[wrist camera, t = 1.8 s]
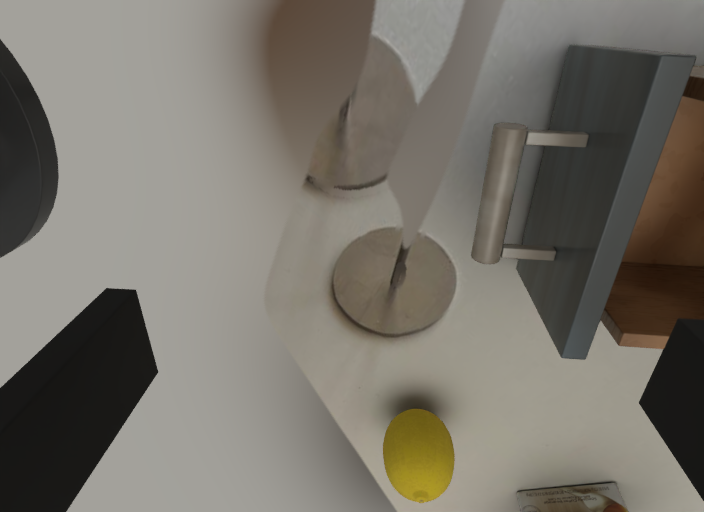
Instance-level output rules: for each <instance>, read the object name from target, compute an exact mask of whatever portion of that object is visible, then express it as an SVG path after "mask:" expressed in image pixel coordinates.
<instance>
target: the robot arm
mask: <svg viewBox="0 0 704 512" xmlns="http://www.w3.org/2000/svg"><path fill="white" fill-rule="evenodd" d="M157 373H158V370H157V366H156V362H155V359H154V355H153V351H152V348H151V344H150V340H149V337H148V333H147V329H146V327H145V322H144V318H143V314H142V311H141V307H140V303H139V300H138V296H137V292H136V290H129V289H109V288H106V289H105V290H104V291H103V292H102V293H101V294H100V295H99V296H98V297H97V298H96V299H95V300H94V301H92V302H91V303H90V304H89V305H88V306H87V307H86V308H85V309H84V310H83V311H82V312H81V313H80V314H79V315H78V316H77V317H75V318H74V320H72V321H71V322H70V323H69V324H68V325H67V326H66V327H65V328H64V329H63V330H62V331H61V332H60V333H58V334H57V335H56V336H55V337H54V338H53V339H52V340H51V341H50V342H49V343H48V344H47V345H46V346H45V347H44V348H43V349H42V350H40V351H39V352H38V353H37V354H36V355H35V356H34V357H33V358H32V359H31V360H30V361H29V362H28V363H27V364H25V365H24V366H23V367H22V368H21V369H20V370H19V371H18V372H17V373H16V374H15V375H14V376H13V377H12V378H11V379H10V380H8V381H7V383H5V384H4V385H3V386H2V387H1V388H0V512H66V511H67V510H68V508H69V507H70V505H71V504H72V502H73V500H74V499H75V497H76V496H77V494H78V493H79V491H80V490H81V488H82V487H83V485H84V483H85V482H86V481H87V479H88V477H89V476H90V475H91V473H92V471H93V470H94V469H95V467H96V465H97V464H98V463H99V461H100V459H101V458H102V456H103V455H104V453H105V452H106V450H107V449H108V447H109V446H110V444H111V443H112V441H113V440H114V438H115V437H116V435H117V434H118V432H119V431H120V429H121V428H122V426H123V425H124V423H125V421H126V420H127V418H128V417H129V416H130V414H131V412H132V411H133V409H134V408H135V406H136V405H137V403H138V402H139V400H140V399H141V397H142V396H143V394H144V393H145V391H146V390H147V388H148V387H149V385H150V384H151V382H152V381H153V379H154V378H155V376H156V375H157ZM639 404H640V405H641V407H642V408H643V410H644V411H645V413H646V415H647V416H648V418H649V419H650V421H651V422H652V424H653V425H654V427H655V428H656V430H657V431H658V433H659V434H660V436H661V437H662V439H663V440H664V442H665V443H666V445H667V446H668V448H669V449H670V451H671V452H672V454H673V455H674V457H675V458H676V460H677V461H678V463H679V464H680V466H681V468H682V469H683V471H684V472H685V474H686V475H687V477H688V478H689V480H690V481H691V483H692V484H693V486H694V487H695V489H696V490H697V492H698V493H699V495H700V496H701V498H702V499H703V501H704V320H701V319H682V318H678V319H677V321H676V324H675V326H674V328H673V330H672V332H671V334H670V337H669V339H668V341H667V343H666V345H665V347H664V349H663V352H662V354H661V356H660V358H659V360H658V362H657V365H656V367H655V369H654V371H653V373H652V375H651V378H650V380H649V382H648V384H647V386H646V388H645V391H644V393H643V395H642V397H641V399H640V401H639Z"/></svg>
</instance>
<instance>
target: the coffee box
mask: <svg viewBox="0 0 704 512" xmlns="http://www.w3.org/2000/svg"><path fill="white" fill-rule="evenodd" d="M517 497H518V501H519V506H520V510H521V512H628V510H627V508H626V505H625V503H624V501H623V499H622V496H621V494H620V492H619V489H618V486H617V484H616V483H606V484H595V485H583V486H573V487H562V488H551V489H540V490H530V491H520V492H517Z"/></svg>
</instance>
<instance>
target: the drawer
mask: <svg viewBox="0 0 704 512" xmlns="http://www.w3.org/2000/svg"><path fill="white" fill-rule="evenodd" d="M695 60H696V56H695V55H686V54H676V53H666V52H656V51H646V50H636V49H626V48H616V47H606V46H596V45H572V44H571V45H569V47H568V51H567V55H566V60H565V64H564V68H563V72H562V77H561V81H560V85H559V89H558V93H557V98H556V102H555V106H554V110H553V115H552V119H551V123H550V127H549V130H528V128H527V127H526V126H524V125H521V124H516V123H497V124H495V125H494V128H493V134H492V139H491V145H490V151H489V157H488V162H487V168H486V174H485V179H484V185H483V191H482V196H481V202H480V208H479V214H478V219H477V225H476V231H475V236H474V242H473V248H472V253H471V256H472V258H473V259H474V260H475V261H477V262H480V263H483V264H495V263H497V262H499V260H500V257H502V258H515V259H518V263H517V267H516V269H517V271H518V273H519V275H520V277H521V279H522V281H523V283H524V285H525V287H526V289H527V291H528V293H529V295H530V297H531V299H532V301H533V303H534V305H535V307H536V309H537V311H538V313H539V315H540V317H541V319H542V321H543V323H544V325H545V326H546V328H547V330H548V332H549V334H550V336H551V338H552V340H553V342H554V344H555V346H556V348H557V350H558V352H559V354H560V356H561V358H569V359H583V360H585V359H586V357H587V354H588V352H589V349H590V346H591V343H592V341H593V338H594V335H595V332H596V330H597V327H598V324H599V322H600V320H601V321H602V323H603V324H604V326H605V327H606V328H607V330H608V331H609V333H610V334H611V335H612V337H613V338H614V340H615V341H616V343H617V344H618V345H619V346H628V347H642V348H657V349H664V347H665V345H666V343H667V341H668V339H669V337H670V334H671V332H672V330H673V328H674V326H675V324H676V321H677V319H678V318H682V319H701V320H704V66H694V63H695ZM524 144H526V145H541V146H545V149H544V153H543V157H542V161H541V166H540V170H539V174H538V178H537V182H536V187H535V191H534V195H533V199H532V204H531V208H530V212H529V216H528V221H527V225H526V229H525V233H524V238H523V242H522V245H518V244H503V243H504V238H505V233H506V228H507V224H508V219H509V214H510V210H511V205H512V200H513V195H514V191H515V186H516V181H517V177H518V172H519V167H520V163H521V158H522V153H523V148H524Z"/></svg>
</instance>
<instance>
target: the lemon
mask: <svg viewBox="0 0 704 512" xmlns="http://www.w3.org/2000/svg"><path fill="white" fill-rule="evenodd" d="M383 457H384V464H385V469H386V473H387V476H388V478H389V480H390V482H391V484H392V485H393V487H394V488H395V489H396V490H397V491H398V492H399V493H400V494H401V495H402V496H404V497H405V498H407V499H409V500H412V501H415V502H419V503H424V502H428V501H431V500H434V499H436V498H437V497H439V496H440V495H441V494H442V493H443V492H444V491H445V490H446V489H447V487H448V485H449V484H450V482H451V479H452V474H453V469H454V448H453V444H452V439H451V436H450V434H449V431H448V430H447V428H446V426H445V425H444V423H443V422H442V421H441V420H440V419H439V418H438V417H437V416H436V415H434V414H433V413H431V412H429V411H426V410H423V409H409V410H406V411H404V412H402V413H400V414H399V415H397V416H396V417H395V418H394V419H393V420H392V421H391V423H390V424H389V426H388V428H387V431H386V434H385V438H384V443H383Z"/></svg>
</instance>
